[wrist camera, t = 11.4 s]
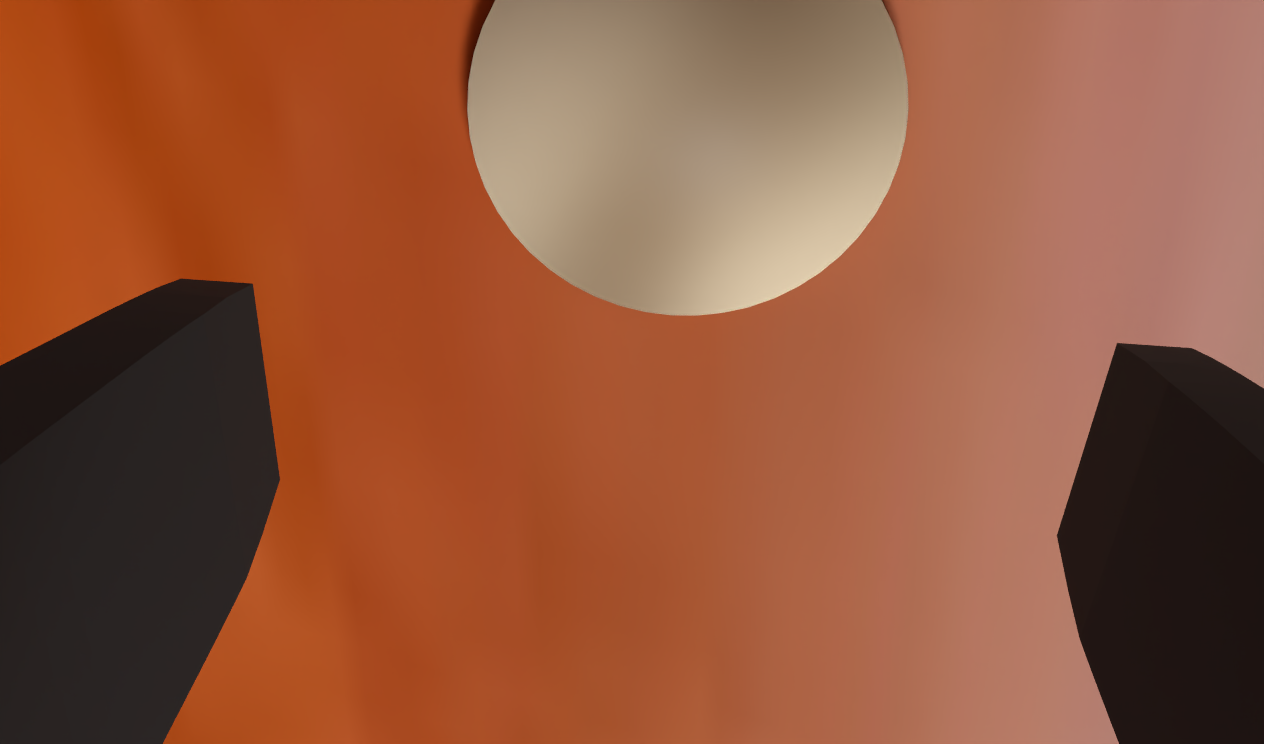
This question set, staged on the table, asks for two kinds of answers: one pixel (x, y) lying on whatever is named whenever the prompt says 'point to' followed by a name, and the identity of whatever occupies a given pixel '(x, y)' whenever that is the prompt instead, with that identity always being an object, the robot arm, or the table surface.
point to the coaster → (687, 140)
